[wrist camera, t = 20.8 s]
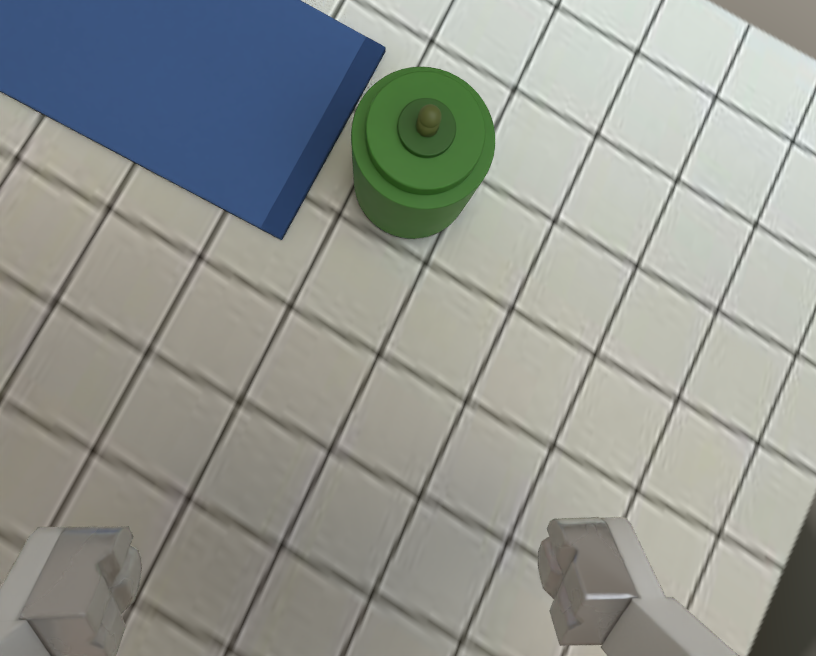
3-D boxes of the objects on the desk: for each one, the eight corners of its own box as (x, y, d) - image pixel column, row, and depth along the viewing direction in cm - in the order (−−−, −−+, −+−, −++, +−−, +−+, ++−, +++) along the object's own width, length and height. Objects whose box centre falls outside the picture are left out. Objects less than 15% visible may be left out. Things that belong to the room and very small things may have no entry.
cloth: (-65, 57, 28) (-72, 52, 27) (53, -133, 28) (48, -141, 28) (281, 240, 29) (280, 238, 28) (385, 51, 29) (386, 46, 29)
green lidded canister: (334, 207, 29) (320, 142, 20) (386, 109, 29) (396, 3, 20) (434, 260, 29) (466, 221, 20) (485, 163, 30) (538, 81, 21)
